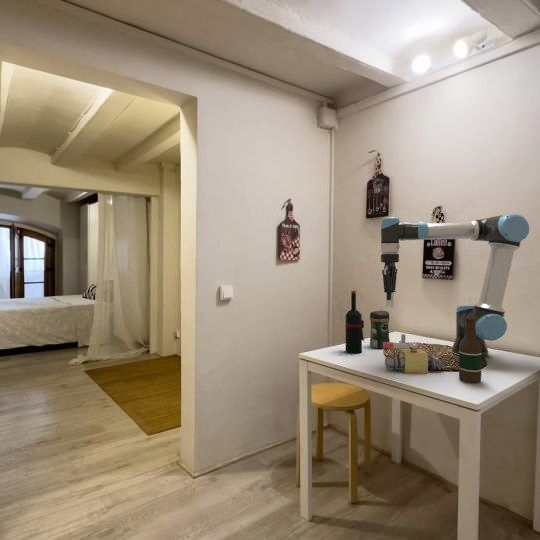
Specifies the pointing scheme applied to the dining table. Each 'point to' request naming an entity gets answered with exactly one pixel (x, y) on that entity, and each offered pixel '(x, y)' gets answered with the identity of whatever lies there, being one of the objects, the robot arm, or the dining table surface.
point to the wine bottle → (354, 328)
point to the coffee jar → (379, 328)
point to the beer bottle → (470, 354)
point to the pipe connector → (402, 340)
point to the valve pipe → (413, 361)
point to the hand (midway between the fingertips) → (389, 307)
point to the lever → (400, 345)
